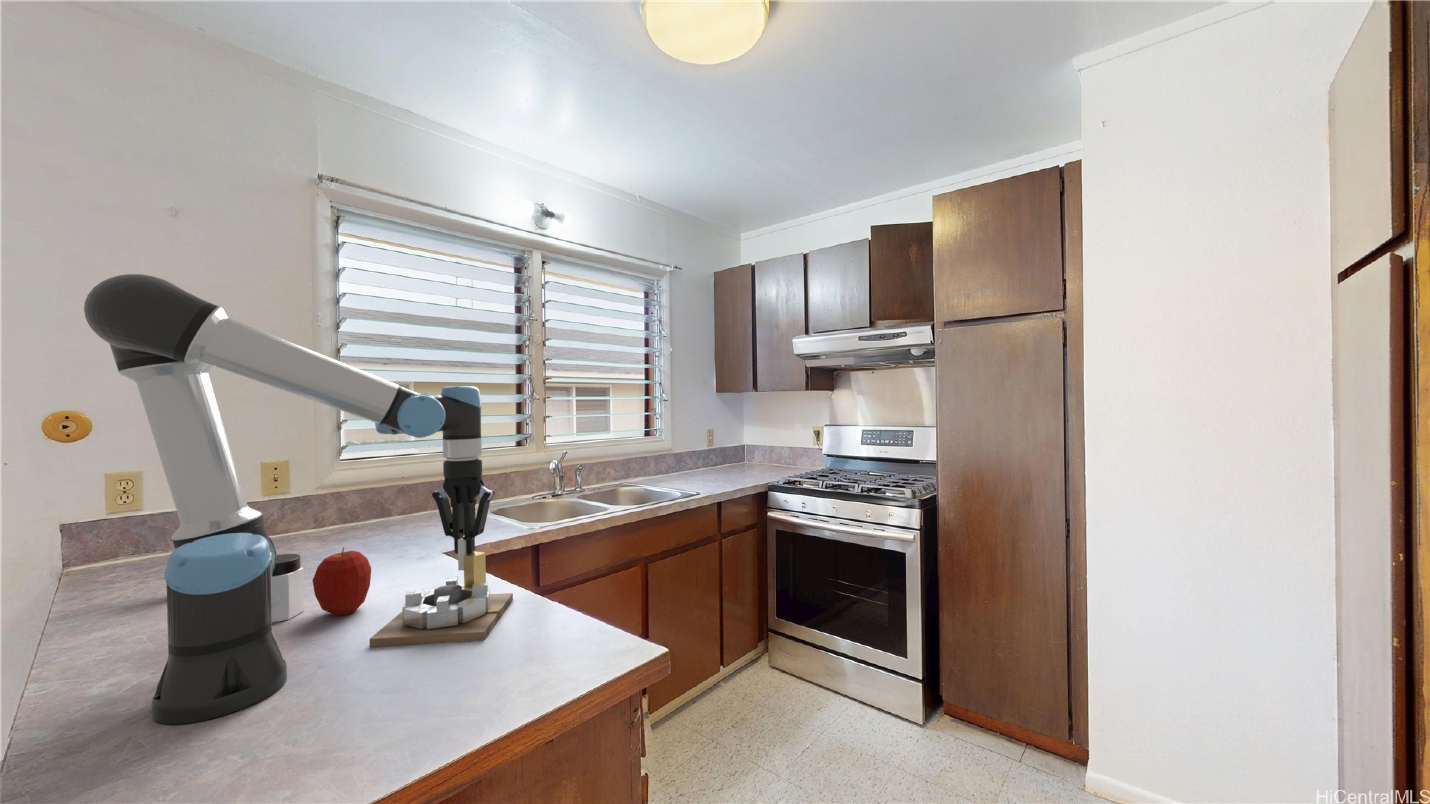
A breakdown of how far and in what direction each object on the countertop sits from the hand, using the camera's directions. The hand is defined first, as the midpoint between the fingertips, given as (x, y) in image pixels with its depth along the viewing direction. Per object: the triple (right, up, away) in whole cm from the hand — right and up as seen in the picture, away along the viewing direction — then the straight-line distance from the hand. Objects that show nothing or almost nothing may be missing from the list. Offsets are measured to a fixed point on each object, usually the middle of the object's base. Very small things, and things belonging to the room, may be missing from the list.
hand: (465, 568), depth 115 cm
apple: (-25, -9, -1) cm, 27 cm away
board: (0, -9, -7) cm, 11 cm away
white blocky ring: (0, -7, -7) cm, 10 cm away
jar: (-38, -9, -3) cm, 39 cm away
